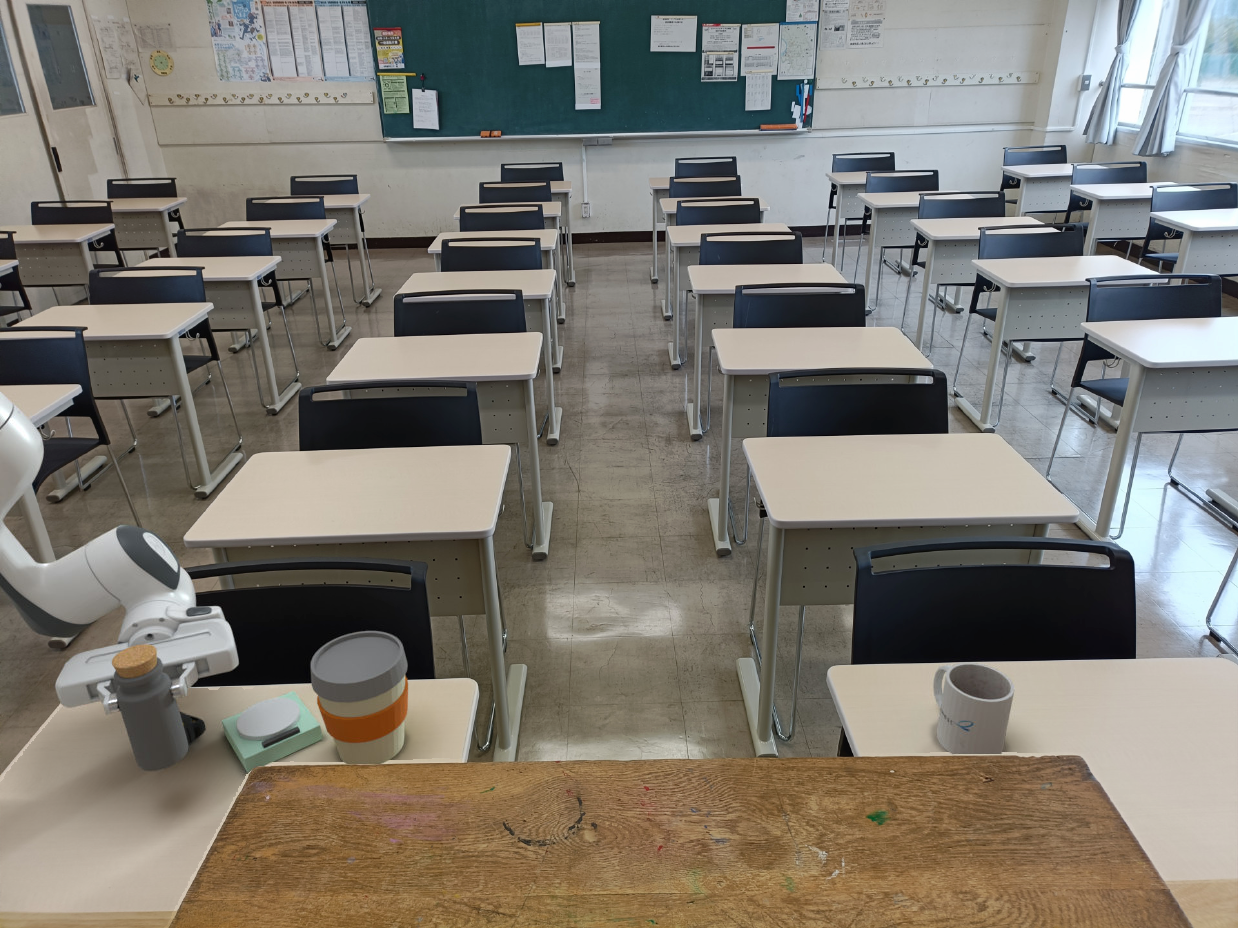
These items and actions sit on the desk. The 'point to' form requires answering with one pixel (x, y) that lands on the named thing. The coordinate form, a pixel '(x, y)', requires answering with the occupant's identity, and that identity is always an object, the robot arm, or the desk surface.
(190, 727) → the tape measure
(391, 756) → the reusable coffee cup
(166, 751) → the bottle
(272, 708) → the scale
